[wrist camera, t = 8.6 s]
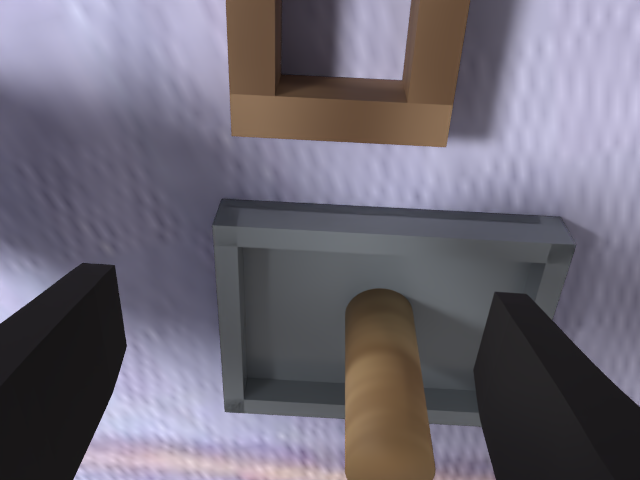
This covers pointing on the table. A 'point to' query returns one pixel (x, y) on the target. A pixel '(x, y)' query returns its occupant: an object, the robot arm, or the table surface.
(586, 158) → the table surface
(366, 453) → the pin
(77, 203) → the table surface
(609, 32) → the table surface
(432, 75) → the socket
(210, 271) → the table surface
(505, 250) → the tray
